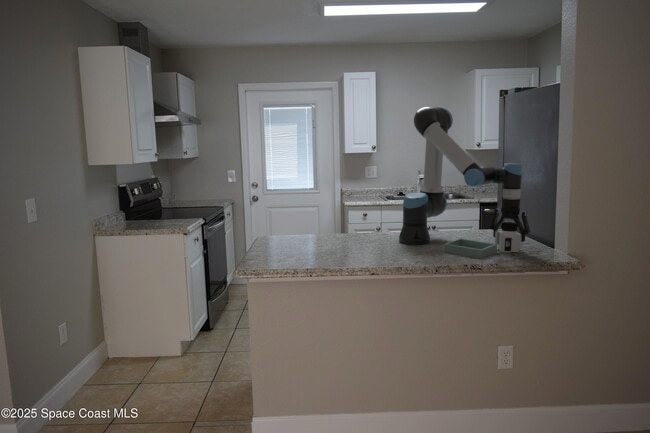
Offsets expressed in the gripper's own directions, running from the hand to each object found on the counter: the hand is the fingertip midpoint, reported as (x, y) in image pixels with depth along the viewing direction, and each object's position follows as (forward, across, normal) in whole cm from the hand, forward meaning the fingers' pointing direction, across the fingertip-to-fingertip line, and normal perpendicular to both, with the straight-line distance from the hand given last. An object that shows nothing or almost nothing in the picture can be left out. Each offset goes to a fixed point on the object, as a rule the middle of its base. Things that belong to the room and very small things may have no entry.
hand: (508, 246), depth 226 cm
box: (+2, -12, -13) cm, 18 cm away
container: (+2, 0, 0) cm, 2 cm away
